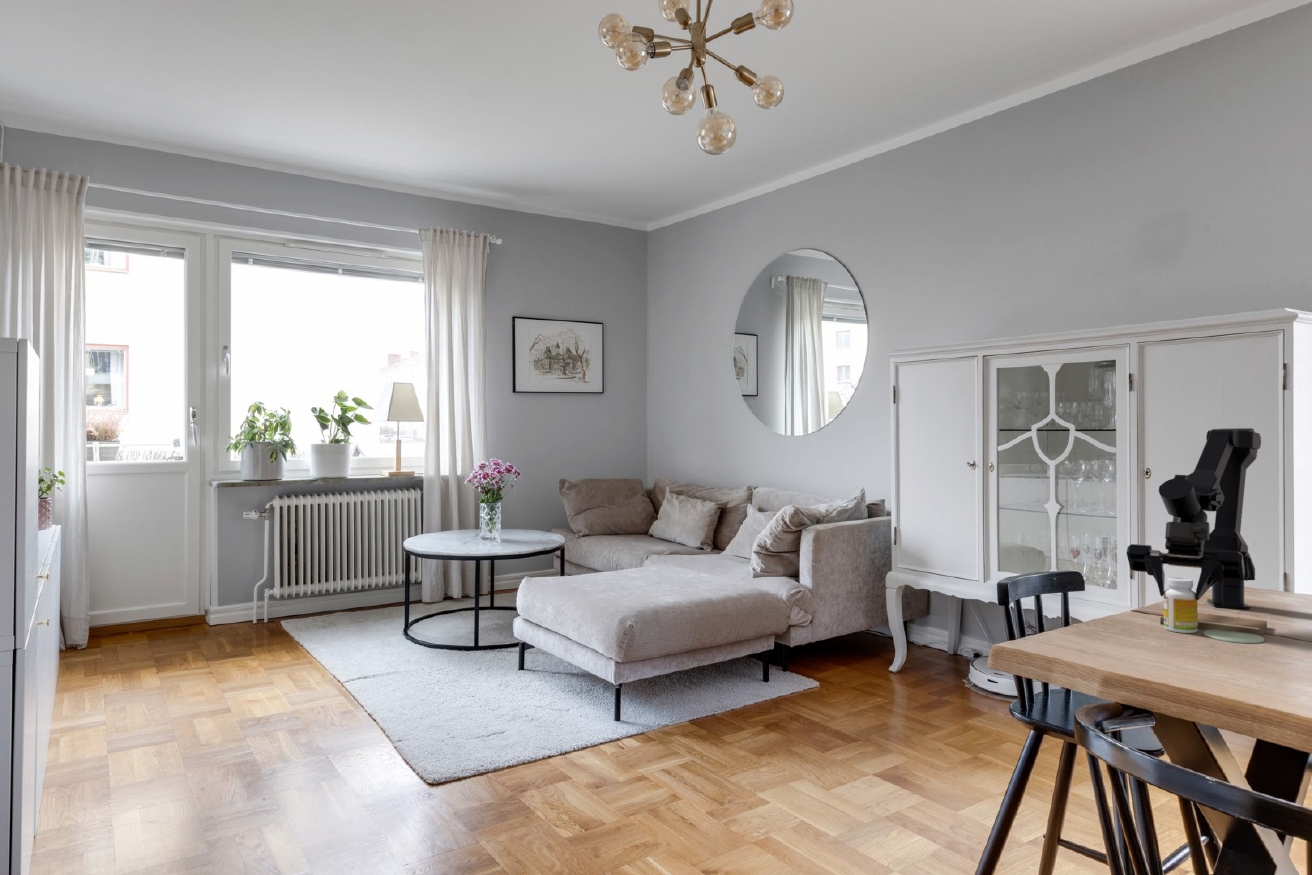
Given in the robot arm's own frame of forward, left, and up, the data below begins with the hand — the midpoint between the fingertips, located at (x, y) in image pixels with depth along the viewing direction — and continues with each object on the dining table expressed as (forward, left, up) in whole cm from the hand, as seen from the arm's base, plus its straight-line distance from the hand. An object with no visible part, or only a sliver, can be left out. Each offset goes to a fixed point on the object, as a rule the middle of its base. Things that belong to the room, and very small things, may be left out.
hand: (1179, 596), depth 151 cm
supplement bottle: (-1, 0, -7) cm, 7 cm away
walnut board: (-8, +7, -7) cm, 13 cm away
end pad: (+1, +8, -7) cm, 11 cm away
